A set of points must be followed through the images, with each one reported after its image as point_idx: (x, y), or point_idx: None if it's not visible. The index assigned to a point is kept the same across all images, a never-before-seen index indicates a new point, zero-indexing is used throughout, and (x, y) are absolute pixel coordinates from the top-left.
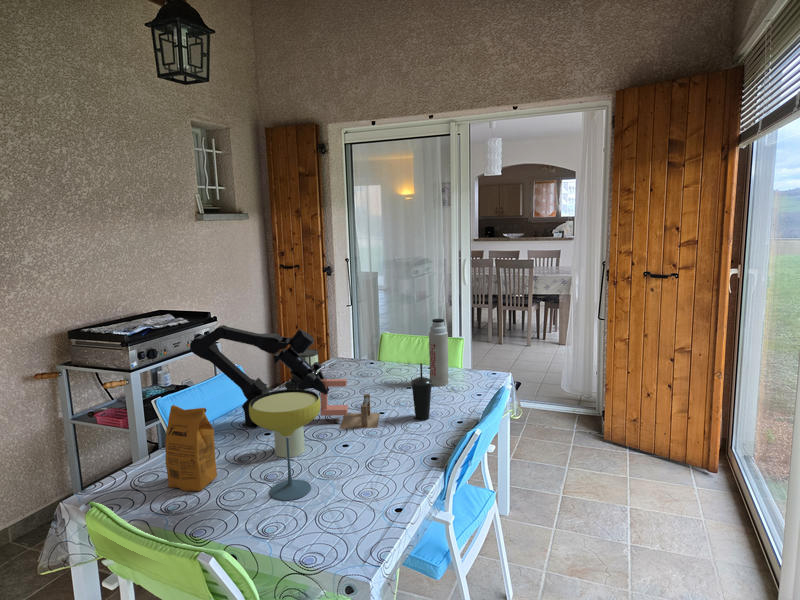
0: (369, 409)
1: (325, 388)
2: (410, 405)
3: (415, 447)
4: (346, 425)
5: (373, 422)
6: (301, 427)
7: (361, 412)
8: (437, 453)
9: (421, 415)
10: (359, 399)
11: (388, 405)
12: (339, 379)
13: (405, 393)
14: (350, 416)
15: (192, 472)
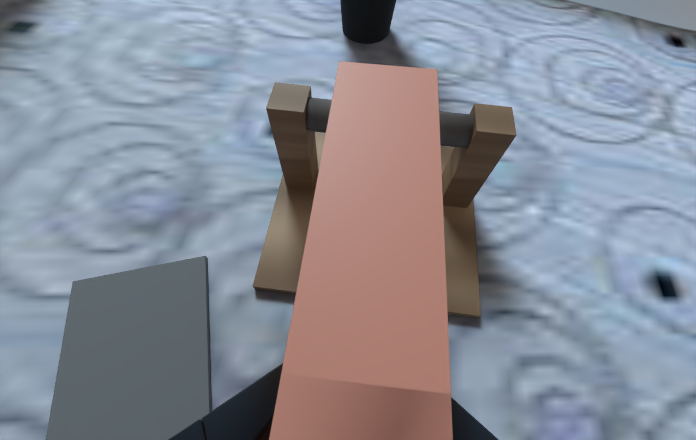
0: (316, 149)
1: (455, 403)
2: (230, 42)
3: (612, 68)
4: None
5: None
6: None
7: (498, 158)
8: (639, 32)
9: (392, 14)
10: (38, 208)
11: (197, 102)
12: (356, 136)
13: (83, 42)
14: None
15: None
